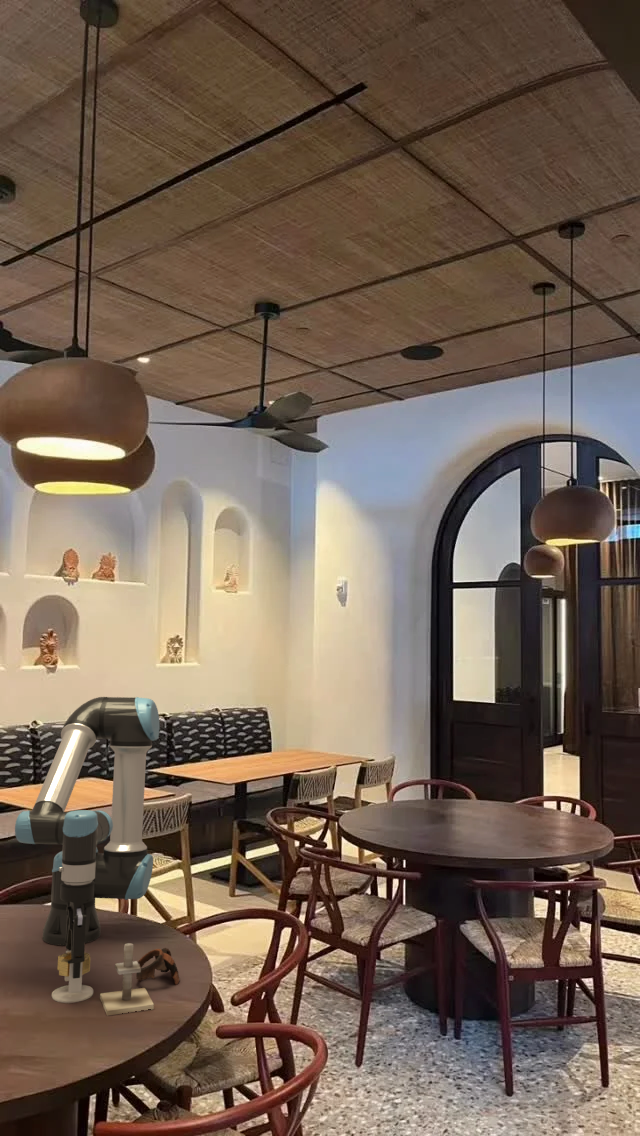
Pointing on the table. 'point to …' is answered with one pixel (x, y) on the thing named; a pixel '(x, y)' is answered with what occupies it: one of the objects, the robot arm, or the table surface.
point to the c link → (65, 967)
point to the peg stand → (126, 989)
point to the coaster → (71, 994)
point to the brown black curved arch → (158, 964)
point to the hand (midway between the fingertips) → (72, 985)
